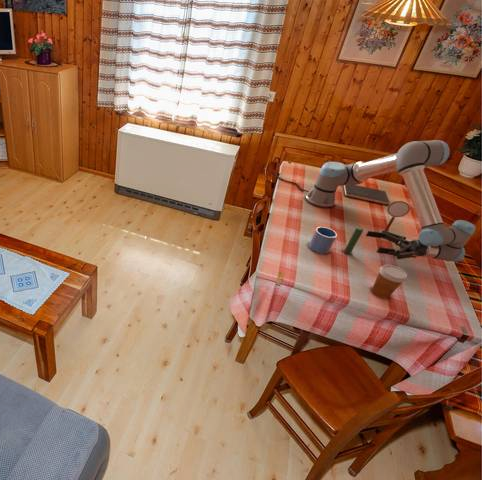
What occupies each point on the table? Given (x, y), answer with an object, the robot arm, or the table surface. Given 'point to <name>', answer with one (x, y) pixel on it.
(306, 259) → the table surface
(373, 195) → the hardcover book
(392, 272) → the disposable coffee cup
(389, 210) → the magnifying glass
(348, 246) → the stick
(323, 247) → the tumbler
